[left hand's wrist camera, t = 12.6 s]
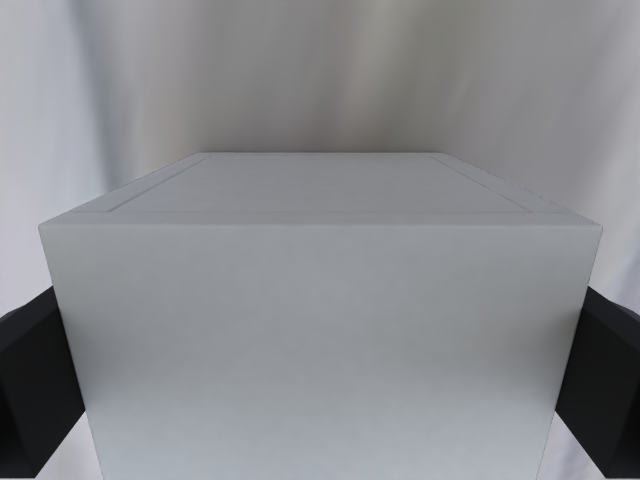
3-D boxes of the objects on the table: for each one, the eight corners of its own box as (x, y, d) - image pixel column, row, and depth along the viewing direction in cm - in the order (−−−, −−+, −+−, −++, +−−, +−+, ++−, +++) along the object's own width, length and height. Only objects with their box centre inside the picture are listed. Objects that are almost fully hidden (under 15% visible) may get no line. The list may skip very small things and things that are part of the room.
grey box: (411, 457, 23) (475, 712, 14) (228, 456, 23) (162, 712, 14) (444, 152, 17) (606, 225, 7) (195, 152, 17) (35, 224, 7)
